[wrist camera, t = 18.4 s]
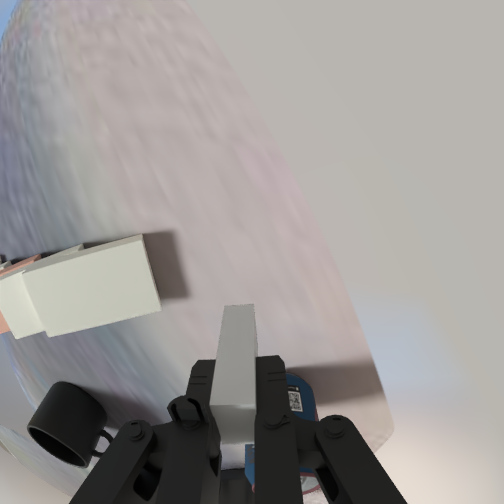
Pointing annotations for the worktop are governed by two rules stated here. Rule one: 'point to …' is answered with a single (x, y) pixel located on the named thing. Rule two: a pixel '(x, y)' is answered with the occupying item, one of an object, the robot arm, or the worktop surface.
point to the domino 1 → (0, 322)
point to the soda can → (303, 408)
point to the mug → (69, 425)
